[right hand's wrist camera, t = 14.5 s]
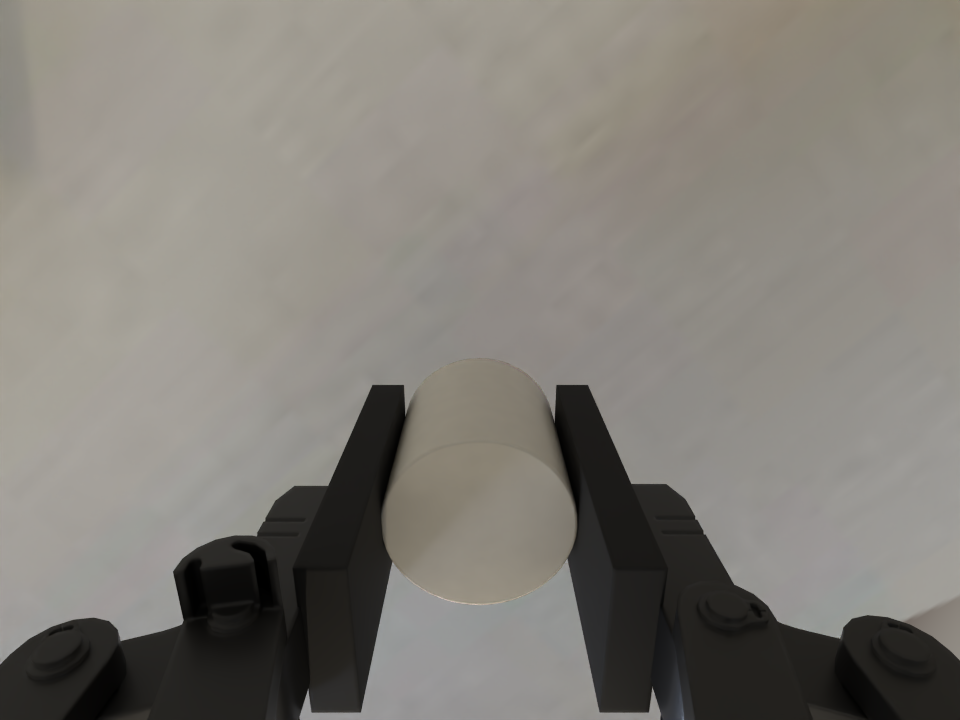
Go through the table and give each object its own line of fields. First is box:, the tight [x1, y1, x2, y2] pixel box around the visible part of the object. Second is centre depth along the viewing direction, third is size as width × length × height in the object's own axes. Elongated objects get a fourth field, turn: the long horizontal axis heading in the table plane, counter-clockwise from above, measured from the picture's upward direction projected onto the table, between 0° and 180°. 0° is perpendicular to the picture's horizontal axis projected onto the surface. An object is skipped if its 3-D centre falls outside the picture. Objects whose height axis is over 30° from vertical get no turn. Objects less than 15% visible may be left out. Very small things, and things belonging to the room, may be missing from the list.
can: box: [381, 358, 578, 605], centre depth 13 cm, size 4×4×4 cm
